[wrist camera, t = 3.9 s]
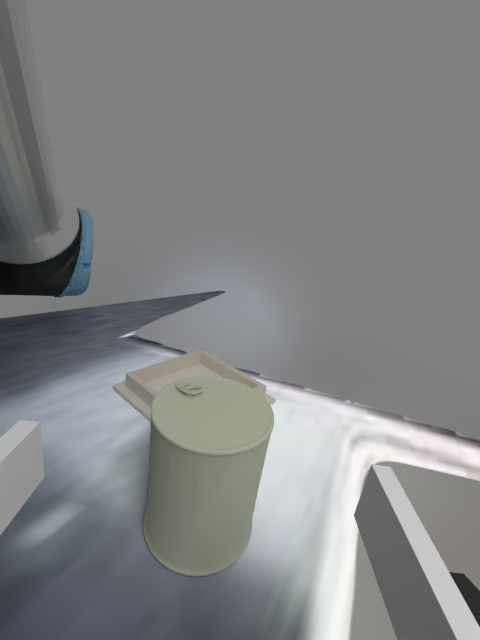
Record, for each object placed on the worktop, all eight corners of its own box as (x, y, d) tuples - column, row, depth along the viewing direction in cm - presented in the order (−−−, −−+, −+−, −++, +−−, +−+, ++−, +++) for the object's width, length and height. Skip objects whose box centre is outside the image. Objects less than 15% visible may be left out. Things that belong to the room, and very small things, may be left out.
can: (199, 461, 34) (212, 360, 30) (271, 518, 29) (299, 406, 24) (120, 518, 27) (122, 396, 23) (197, 608, 22) (218, 472, 17)
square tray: (189, 456, 34) (191, 437, 33) (112, 388, 43) (113, 372, 42) (275, 402, 46) (278, 387, 45) (200, 358, 55) (201, 345, 54)
